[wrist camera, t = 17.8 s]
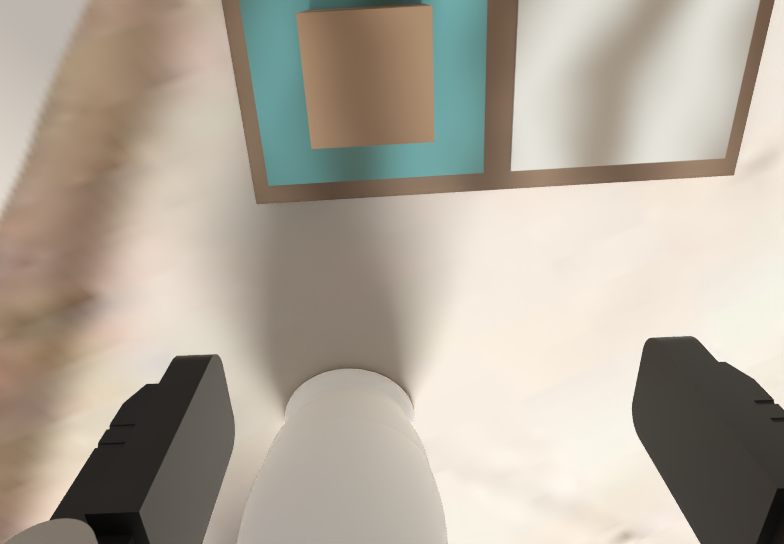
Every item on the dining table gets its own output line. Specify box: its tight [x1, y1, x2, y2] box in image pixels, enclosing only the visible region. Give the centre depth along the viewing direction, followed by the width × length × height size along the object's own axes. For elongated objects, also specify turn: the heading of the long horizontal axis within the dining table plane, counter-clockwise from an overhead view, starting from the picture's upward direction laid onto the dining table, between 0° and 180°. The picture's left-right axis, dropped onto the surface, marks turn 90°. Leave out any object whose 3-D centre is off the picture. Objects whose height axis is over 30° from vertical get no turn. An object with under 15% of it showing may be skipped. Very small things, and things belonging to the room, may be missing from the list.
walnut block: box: [296, 3, 434, 149], centre depth 24 cm, size 5×5×5 cm
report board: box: [222, 0, 775, 204], centre depth 26 cm, size 25×13×1 cm, turn 93°
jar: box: [237, 369, 448, 544], centre depth 30 cm, size 11×10×15 cm
